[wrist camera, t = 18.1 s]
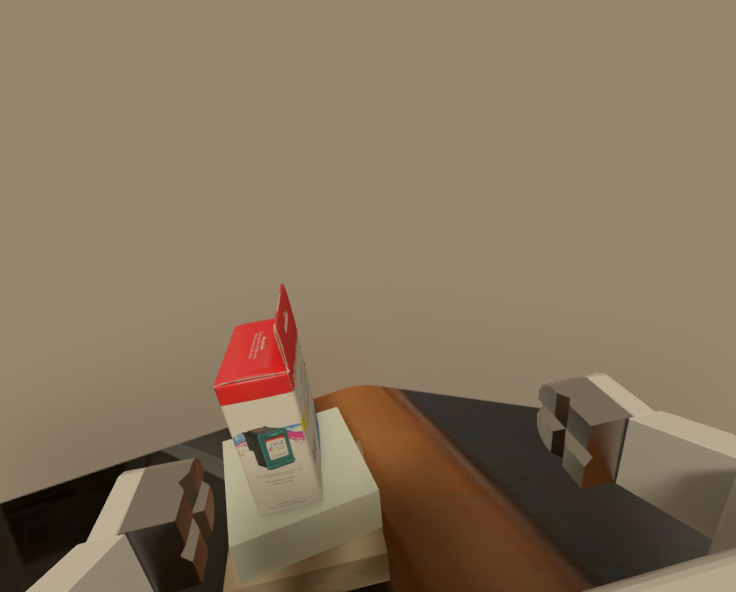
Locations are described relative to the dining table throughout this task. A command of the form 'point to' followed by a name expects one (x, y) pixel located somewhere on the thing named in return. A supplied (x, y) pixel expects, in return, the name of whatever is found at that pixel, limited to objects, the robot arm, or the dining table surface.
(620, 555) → the dining table surface
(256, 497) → the ink box
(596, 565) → the dining table surface
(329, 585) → the maple base block
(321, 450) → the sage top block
